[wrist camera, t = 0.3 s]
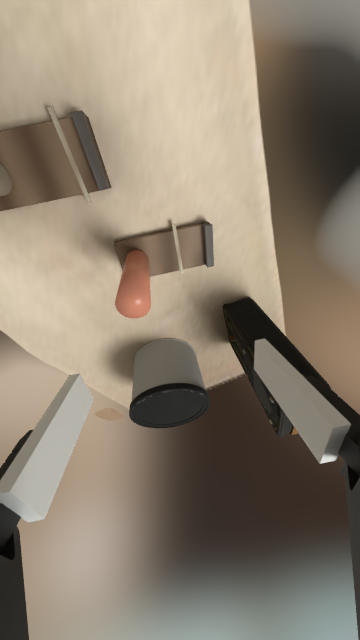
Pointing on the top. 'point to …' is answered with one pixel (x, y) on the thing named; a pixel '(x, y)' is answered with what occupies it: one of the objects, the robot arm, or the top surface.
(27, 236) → the top surface
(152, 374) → the container
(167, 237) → the brown base
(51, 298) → the top surface
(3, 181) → the grey plug
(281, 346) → the voltmeter
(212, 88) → the top surface
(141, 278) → the terracotta plug
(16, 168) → the brown wooden board
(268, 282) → the top surface
